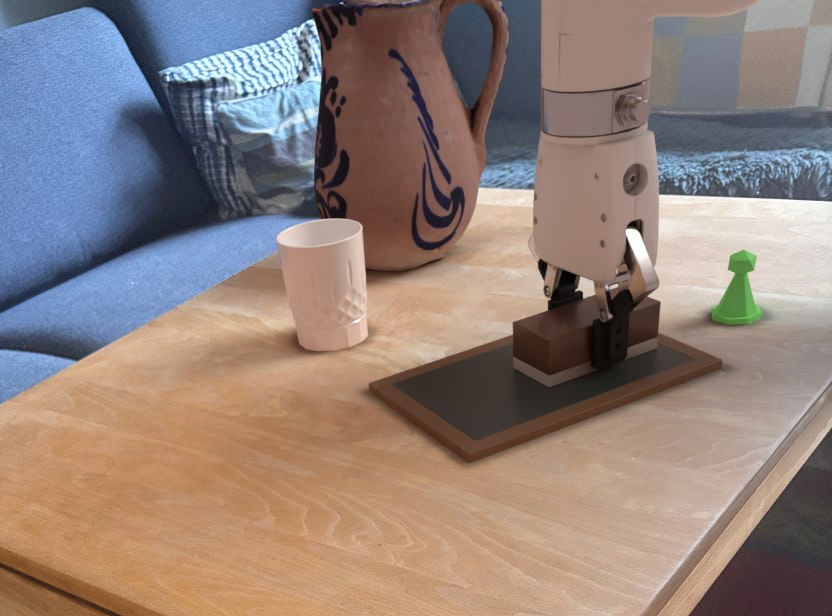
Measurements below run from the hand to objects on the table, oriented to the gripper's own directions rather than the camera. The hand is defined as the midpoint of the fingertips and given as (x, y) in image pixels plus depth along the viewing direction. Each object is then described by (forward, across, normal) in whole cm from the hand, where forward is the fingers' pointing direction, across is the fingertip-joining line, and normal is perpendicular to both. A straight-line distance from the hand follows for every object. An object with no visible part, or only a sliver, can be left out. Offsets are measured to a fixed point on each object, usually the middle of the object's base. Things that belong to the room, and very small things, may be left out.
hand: (586, 350), depth 81 cm
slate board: (+2, 0, +4) cm, 5 cm away
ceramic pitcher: (+2, +36, -5) cm, 37 cm away
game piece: (+2, 0, -16) cm, 16 cm away
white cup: (+2, +22, +13) cm, 25 cm away
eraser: (+1, 0, 0) cm, 1 cm away
